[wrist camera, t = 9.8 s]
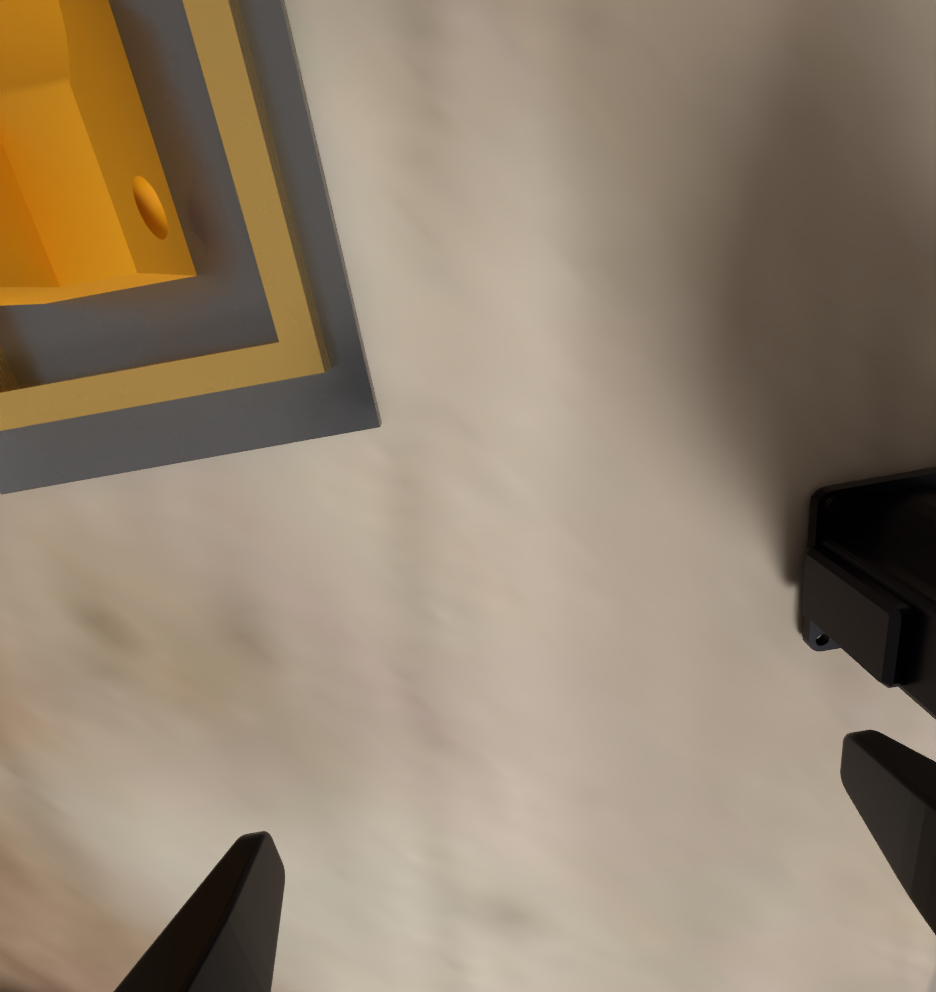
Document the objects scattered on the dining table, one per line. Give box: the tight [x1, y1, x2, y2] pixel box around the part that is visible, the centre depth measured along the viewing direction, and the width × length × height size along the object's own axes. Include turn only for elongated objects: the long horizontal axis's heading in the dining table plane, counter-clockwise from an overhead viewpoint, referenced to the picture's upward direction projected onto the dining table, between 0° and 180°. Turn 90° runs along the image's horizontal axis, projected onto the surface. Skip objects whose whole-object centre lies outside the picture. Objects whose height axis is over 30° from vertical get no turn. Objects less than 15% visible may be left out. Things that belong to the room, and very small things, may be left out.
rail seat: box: [0, 0, 381, 494], centre depth 13 cm, size 12×22×2 cm, turn 10°
